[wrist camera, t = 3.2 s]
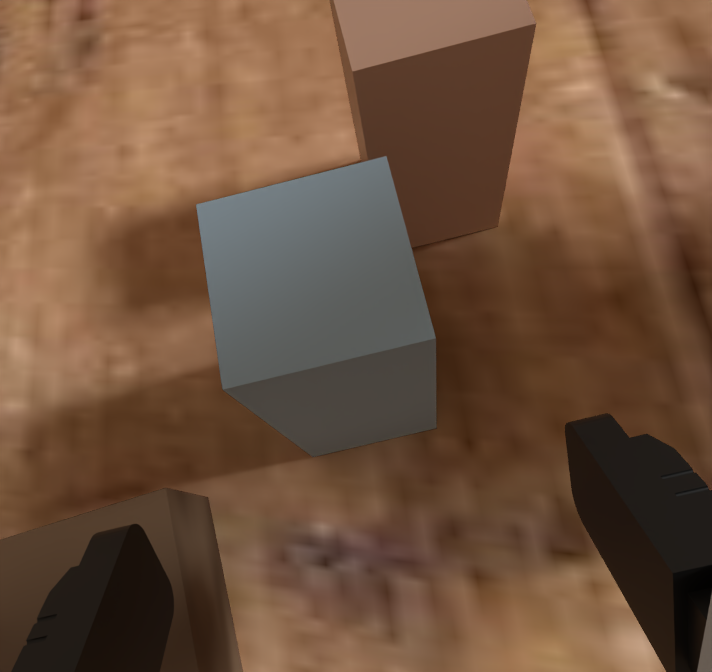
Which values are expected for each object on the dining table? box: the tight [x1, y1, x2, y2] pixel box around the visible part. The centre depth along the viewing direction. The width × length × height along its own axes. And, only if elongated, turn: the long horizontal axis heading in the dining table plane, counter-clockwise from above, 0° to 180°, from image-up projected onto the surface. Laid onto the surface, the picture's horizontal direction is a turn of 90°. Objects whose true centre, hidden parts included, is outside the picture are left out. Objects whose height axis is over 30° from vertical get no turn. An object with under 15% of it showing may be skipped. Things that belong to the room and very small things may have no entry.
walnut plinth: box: [0, 488, 243, 672], centre depth 19 cm, size 8×8×4 cm
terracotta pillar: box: [330, 0, 536, 248], centre depth 20 cm, size 4×4×10 cm
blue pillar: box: [196, 156, 436, 457], centre depth 18 cm, size 4×4×10 cm
